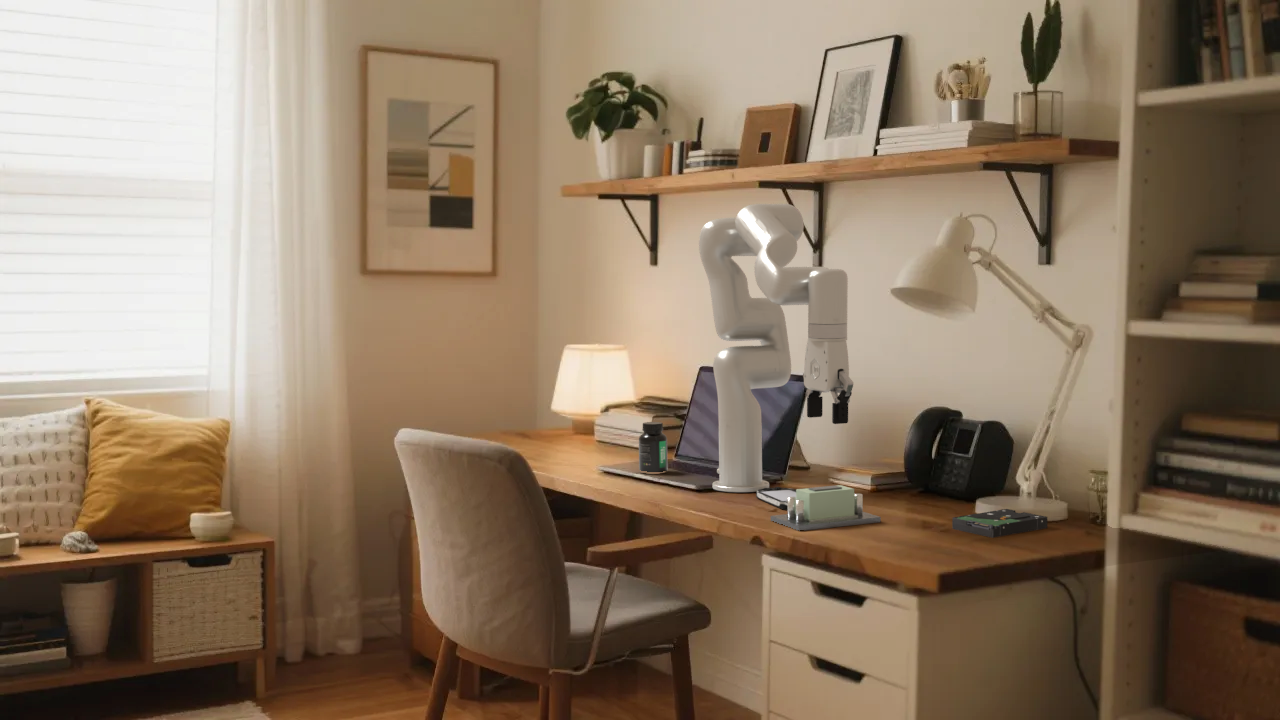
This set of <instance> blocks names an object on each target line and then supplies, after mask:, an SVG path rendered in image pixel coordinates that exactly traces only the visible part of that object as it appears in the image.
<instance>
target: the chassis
mask: <svg viewBox="0 0 1280 720" xmlns="http://www.w3.org/2000/svg"><path fill="white" fill-rule="evenodd" d="M863 495H864V494H862V493H854V515H845V516H836V517H827V518H817V519H807V518H804V500H802V499H798V500H796V497H787V504H788V510H787V513H786V514H775V515H770V522H772V521H774V522H773V523H775V522H777V523H776V524H778V523H779V525H781V524H783V525H782V526H784V525H785V526H784V527H786V526H788V527H787V528H789V527H791V528H790V529H792V528H793V529H792V530H795V529H796V530H795V531H798V530H799V531H798V532H801V531H800V530H804V531H811V530H812V531H813V530H821V529H829V528H838V527H839V528H840V527H848V526H855V525H856V526H858V525H866V524H876V523H881V519H882V518H881V516H878V515H875V514H872V513H869V512H865V511H864V510H863V509H864V508H863V506H864V505H863Z"/></svg>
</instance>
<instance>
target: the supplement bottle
mask: <svg viewBox="0 0 1280 720" xmlns="http://www.w3.org/2000/svg"><path fill="white" fill-rule="evenodd" d="M663 426H664V424H663V422H661V421H660V422H659V421H649V422H648V421H647V422H643V423H642V434H640V435H639V437H638V470H641V471H647V472H663V471H667V472H668V470H669V469H668V437H667V435H666V434H664V433H663V431H664V427H663Z"/></svg>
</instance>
